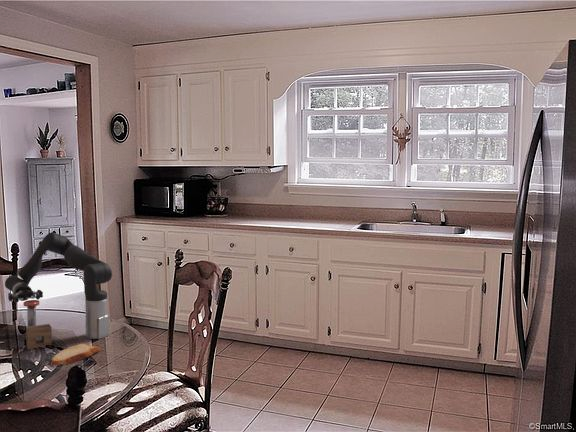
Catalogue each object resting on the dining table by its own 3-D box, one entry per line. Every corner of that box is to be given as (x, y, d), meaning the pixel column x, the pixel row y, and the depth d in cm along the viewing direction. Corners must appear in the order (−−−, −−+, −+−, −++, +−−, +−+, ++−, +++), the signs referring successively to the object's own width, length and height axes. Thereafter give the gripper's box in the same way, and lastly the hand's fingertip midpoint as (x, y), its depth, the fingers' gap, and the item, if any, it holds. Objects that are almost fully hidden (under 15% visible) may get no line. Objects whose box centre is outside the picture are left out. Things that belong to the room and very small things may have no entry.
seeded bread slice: (49, 368, 199) (49, 359, 198) (54, 351, 216) (54, 342, 215) (98, 364, 204) (98, 355, 204) (100, 348, 221) (100, 339, 221)
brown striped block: (26, 345, 219) (26, 327, 218) (49, 342, 224) (49, 323, 224) (28, 349, 215) (27, 330, 214) (51, 345, 220) (51, 327, 219)
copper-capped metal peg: (23, 332, 235) (22, 301, 233) (38, 329, 238) (38, 299, 237) (27, 341, 223) (27, 309, 222) (44, 338, 227) (43, 307, 225)
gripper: (5, 285, 246) (10, 292, 233) (38, 282, 254) (44, 288, 241) (5, 300, 246) (10, 308, 233) (38, 297, 255) (45, 304, 242)
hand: (28, 298), depth 237 cm, fingers open, 8 cm apart
